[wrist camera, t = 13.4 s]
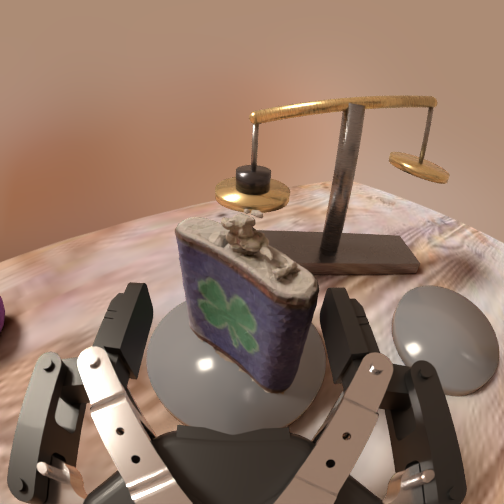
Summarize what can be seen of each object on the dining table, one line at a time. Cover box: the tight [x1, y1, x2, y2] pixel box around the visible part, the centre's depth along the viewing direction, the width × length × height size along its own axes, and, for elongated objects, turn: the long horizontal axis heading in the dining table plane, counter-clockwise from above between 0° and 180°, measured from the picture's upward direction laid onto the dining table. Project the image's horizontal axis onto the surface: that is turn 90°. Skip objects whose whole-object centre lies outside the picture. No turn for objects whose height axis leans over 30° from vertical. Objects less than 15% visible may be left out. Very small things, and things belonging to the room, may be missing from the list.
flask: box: [175, 209, 319, 394], centre depth 16 cm, size 9×3×11 cm, turn 48°
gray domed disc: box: [392, 286, 499, 396], centre depth 20 cm, size 13×13×1 cm
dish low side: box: [147, 301, 326, 435], centre depth 19 cm, size 13×13×1 cm
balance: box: [215, 96, 449, 275], centre depth 25 cm, size 24×7×20 cm, turn 92°
